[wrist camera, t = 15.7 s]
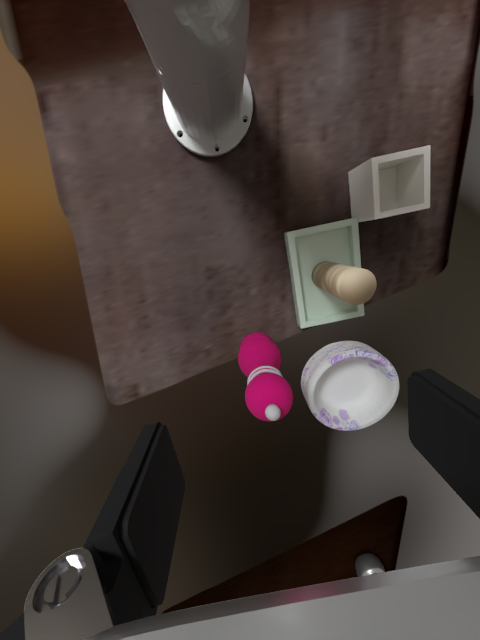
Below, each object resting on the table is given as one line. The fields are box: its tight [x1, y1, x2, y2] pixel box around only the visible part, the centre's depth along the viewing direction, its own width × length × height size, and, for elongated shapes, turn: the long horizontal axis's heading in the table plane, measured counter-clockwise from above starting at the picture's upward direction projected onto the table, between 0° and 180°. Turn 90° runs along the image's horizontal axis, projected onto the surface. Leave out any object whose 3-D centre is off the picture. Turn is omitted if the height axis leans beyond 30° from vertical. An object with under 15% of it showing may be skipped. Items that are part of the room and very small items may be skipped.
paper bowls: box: [301, 341, 399, 431], centre depth 46 cm, size 15×15×8 cm
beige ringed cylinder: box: [311, 261, 377, 305], centre depth 38 cm, size 4×4×12 cm
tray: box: [284, 217, 365, 329], centre depth 43 cm, size 16×11×2 cm
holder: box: [348, 145, 430, 222], centre depth 38 cm, size 8×8×7 cm
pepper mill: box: [238, 333, 293, 421], centre depth 39 cm, size 7×7×20 cm
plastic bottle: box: [355, 553, 385, 577], centre depth 55 cm, size 6×7×20 cm
